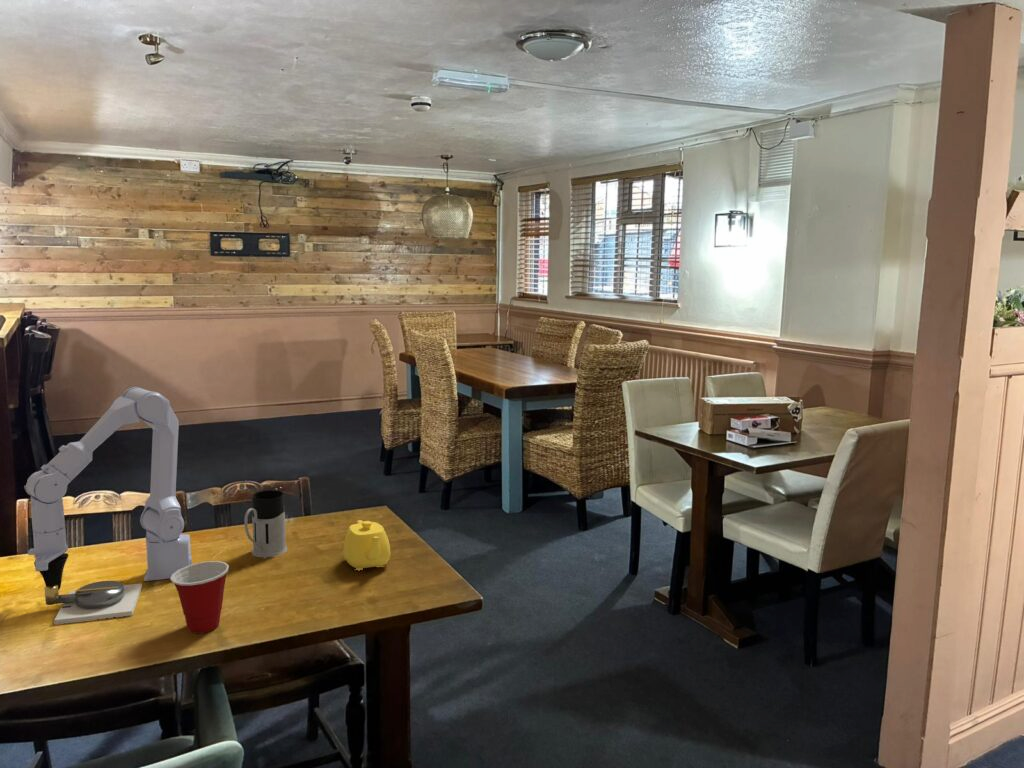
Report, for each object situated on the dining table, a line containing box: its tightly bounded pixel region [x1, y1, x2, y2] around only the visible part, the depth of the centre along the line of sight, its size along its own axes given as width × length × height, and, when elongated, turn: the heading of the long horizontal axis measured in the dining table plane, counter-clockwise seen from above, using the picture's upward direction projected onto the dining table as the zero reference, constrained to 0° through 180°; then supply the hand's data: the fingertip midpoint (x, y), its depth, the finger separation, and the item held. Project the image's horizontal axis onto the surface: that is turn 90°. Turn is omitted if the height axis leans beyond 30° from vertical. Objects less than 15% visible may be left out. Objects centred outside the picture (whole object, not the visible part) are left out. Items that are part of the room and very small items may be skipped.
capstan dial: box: [43, 580, 125, 608], centre depth 156 cm, size 15×9×4 cm, turn 105°
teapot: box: [342, 519, 391, 569], centre depth 180 cm, size 18×11×11 cm, turn 25°
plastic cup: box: [169, 560, 230, 634], centre depth 148 cm, size 11×11×12 cm
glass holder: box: [243, 489, 288, 559], centre depth 185 cm, size 9×14×15 cm, turn 166°
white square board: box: [53, 583, 143, 626], centre depth 157 cm, size 14×14×1 cm
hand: (53, 590), depth 156 cm, fingers closed
